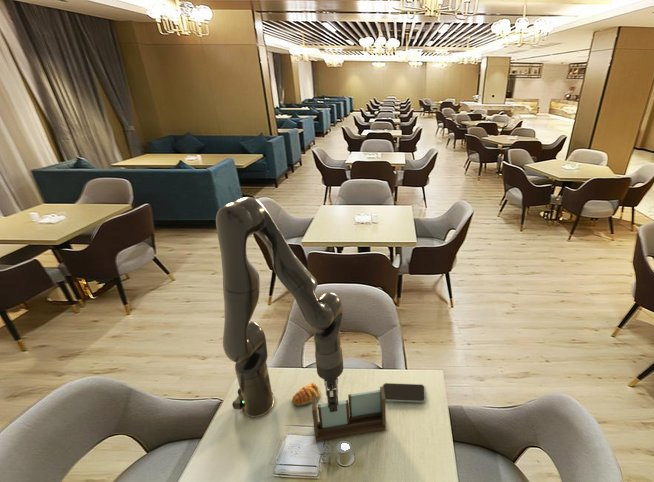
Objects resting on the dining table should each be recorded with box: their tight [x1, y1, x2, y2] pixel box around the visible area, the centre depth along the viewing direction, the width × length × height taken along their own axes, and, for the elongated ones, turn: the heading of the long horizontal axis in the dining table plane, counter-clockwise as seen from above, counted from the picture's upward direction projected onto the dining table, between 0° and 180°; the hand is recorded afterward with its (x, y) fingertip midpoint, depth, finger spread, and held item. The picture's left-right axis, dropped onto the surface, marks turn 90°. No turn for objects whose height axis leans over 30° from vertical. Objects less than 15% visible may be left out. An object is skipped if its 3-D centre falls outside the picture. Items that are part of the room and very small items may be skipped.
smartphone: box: [382, 382, 426, 404], centre depth 126 cm, size 7×1×15 cm
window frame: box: [311, 385, 387, 443], centre depth 110 cm, size 6×22×14 cm, turn 102°
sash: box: [317, 393, 350, 429], centre depth 108 cm, size 2×9×15 cm, turn 102°
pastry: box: [291, 382, 322, 407], centre depth 123 cm, size 9×7×4 cm
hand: (333, 399), depth 107 cm, fingers open, 8 cm apart
